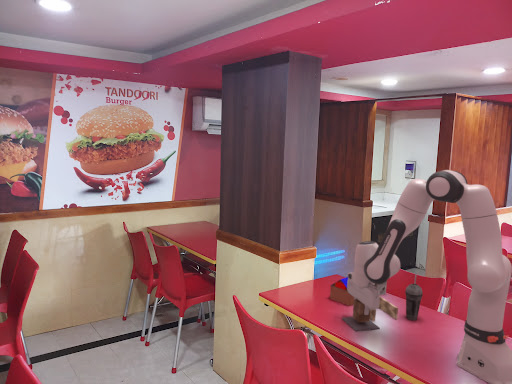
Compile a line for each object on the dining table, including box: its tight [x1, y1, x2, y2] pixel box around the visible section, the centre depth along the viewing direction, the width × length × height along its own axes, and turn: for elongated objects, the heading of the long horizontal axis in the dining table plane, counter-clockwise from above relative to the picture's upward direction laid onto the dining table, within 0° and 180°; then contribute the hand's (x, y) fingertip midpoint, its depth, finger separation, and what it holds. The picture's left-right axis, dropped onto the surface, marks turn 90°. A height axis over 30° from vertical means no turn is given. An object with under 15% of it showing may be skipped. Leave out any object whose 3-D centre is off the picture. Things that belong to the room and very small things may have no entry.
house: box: [329, 277, 354, 307], centre depth 205 cm, size 12×20×12 cm, turn 133°
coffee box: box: [374, 280, 388, 296], centre depth 214 cm, size 9×6×16 cm
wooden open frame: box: [370, 296, 399, 322], centre depth 187 cm, size 14×12×5 cm
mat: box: [341, 316, 381, 332], centre depth 176 cm, size 12×11×1 cm
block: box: [352, 299, 371, 322], centre depth 175 cm, size 5×5×8 cm
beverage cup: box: [404, 273, 423, 321], centre depth 183 cm, size 7×7×20 cm
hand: (361, 311), depth 175 cm, fingers closed on block, 5 cm apart
